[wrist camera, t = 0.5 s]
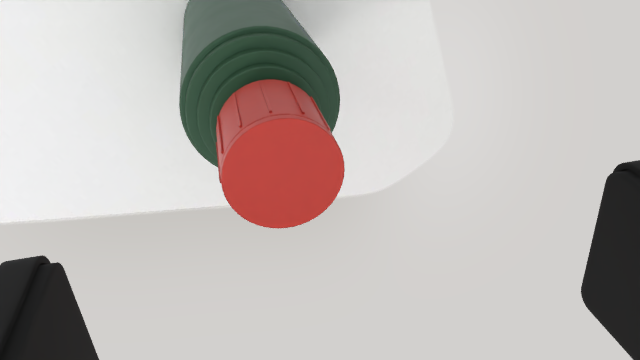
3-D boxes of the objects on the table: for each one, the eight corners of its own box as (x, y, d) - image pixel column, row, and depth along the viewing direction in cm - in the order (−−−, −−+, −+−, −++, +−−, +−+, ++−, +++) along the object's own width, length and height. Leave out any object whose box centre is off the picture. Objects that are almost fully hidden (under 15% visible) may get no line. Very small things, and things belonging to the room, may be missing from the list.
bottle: (267, -43, 32) (351, 37, 15) (300, 57, 35) (400, 214, 18) (165, -6, 32) (137, 116, 15) (208, 91, 35) (224, 280, 18)
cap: (295, 60, 19) (316, 96, 15) (335, 148, 21) (361, 196, 17) (196, 108, 19) (197, 153, 15) (245, 191, 21) (255, 247, 17)
